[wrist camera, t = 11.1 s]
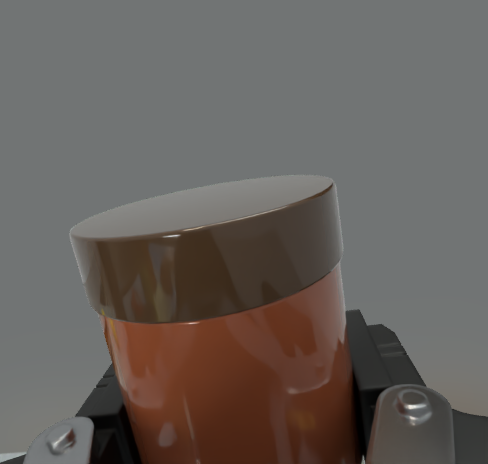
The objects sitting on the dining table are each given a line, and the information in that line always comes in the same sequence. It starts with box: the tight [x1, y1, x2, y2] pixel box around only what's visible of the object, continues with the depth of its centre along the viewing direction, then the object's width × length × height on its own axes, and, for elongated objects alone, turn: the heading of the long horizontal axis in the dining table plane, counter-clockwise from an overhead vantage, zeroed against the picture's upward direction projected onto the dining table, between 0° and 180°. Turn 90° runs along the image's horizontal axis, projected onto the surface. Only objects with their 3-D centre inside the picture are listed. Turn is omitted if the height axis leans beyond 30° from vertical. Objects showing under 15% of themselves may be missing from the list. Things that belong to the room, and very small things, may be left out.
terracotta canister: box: [69, 175, 364, 464], centre depth 9 cm, size 5×5×11 cm
